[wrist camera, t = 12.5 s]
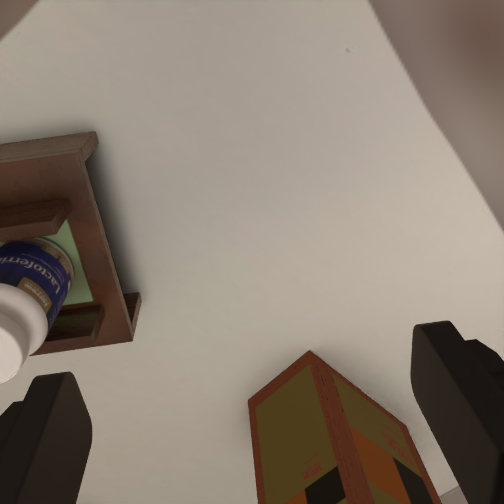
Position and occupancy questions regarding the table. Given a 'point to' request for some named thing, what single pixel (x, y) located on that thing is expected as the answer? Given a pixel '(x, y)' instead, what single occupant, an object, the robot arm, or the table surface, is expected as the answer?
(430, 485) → the box
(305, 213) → the table surface
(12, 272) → the pill bottle
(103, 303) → the shelf
